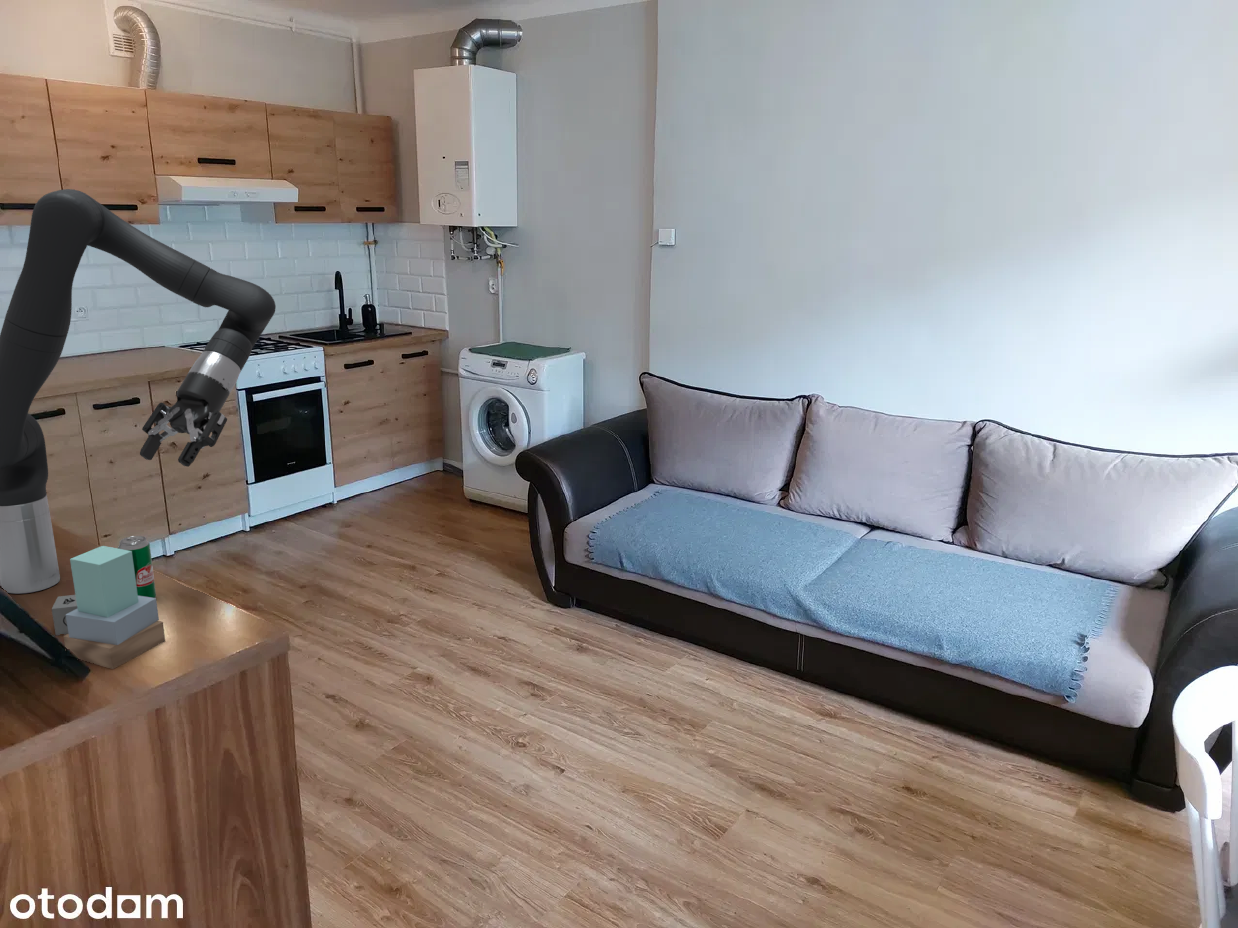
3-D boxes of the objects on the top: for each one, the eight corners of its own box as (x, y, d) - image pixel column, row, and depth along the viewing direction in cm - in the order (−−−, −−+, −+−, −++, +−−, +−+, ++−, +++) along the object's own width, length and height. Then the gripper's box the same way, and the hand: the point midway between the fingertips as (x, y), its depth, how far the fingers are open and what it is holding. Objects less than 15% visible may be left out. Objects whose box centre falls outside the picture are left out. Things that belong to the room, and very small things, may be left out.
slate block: (69, 637, 136) (65, 614, 135) (112, 612, 145) (109, 591, 144) (117, 645, 134) (114, 622, 133) (158, 619, 143) (156, 598, 142)
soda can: (143, 608, 154) (134, 546, 151) (118, 604, 155) (110, 543, 152) (162, 596, 159) (155, 536, 156) (139, 593, 160) (131, 533, 157)
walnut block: (67, 658, 138) (63, 636, 137) (121, 631, 147) (118, 610, 146) (113, 671, 134) (109, 648, 133) (165, 643, 144) (162, 621, 142)
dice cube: (62, 622, 148) (57, 596, 147) (95, 618, 150) (91, 592, 149) (55, 635, 144) (51, 608, 143) (90, 631, 146) (86, 605, 144)
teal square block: (77, 610, 136) (69, 558, 134) (109, 595, 142) (102, 545, 139) (107, 617, 135) (99, 564, 132) (138, 601, 140) (131, 551, 138)
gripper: (164, 366, 151) (116, 444, 144) (228, 374, 146) (181, 455, 139) (192, 391, 157) (147, 466, 150) (253, 398, 152) (210, 477, 145)
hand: (163, 460), depth 145 cm, fingers open, 8 cm apart
